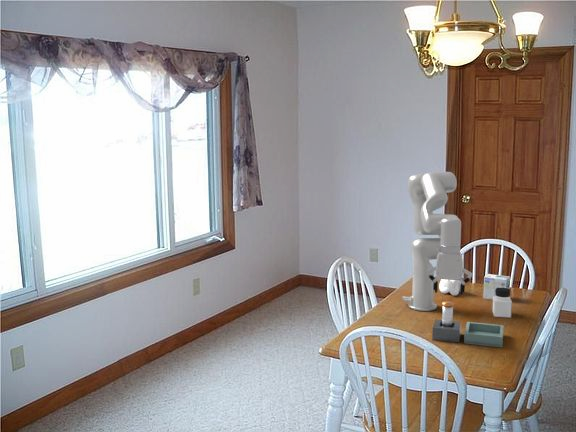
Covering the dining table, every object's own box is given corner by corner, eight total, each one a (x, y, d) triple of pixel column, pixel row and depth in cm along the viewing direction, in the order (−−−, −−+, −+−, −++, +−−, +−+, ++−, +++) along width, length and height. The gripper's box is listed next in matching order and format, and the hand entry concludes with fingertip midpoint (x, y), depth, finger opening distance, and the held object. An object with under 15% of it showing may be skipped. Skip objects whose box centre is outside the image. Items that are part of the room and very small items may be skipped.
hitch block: (432, 339, 256) (432, 327, 255) (435, 331, 265) (435, 319, 264) (458, 342, 253) (459, 330, 252) (460, 333, 262) (461, 321, 261)
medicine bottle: (511, 317, 281) (512, 290, 279) (493, 316, 282) (495, 289, 280) (509, 312, 288) (510, 286, 286) (492, 311, 289) (493, 285, 287)
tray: (464, 343, 252) (464, 333, 251) (466, 331, 265) (467, 321, 264) (502, 347, 247) (502, 337, 247) (503, 334, 261) (503, 325, 260)
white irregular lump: (459, 289, 323) (459, 271, 322) (468, 296, 312) (469, 278, 310) (436, 290, 322) (437, 272, 320) (446, 297, 310) (446, 279, 308)
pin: (440, 338, 257) (441, 303, 255) (441, 334, 262) (442, 300, 259) (452, 339, 256) (453, 304, 254) (453, 335, 260) (454, 301, 258)
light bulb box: (509, 298, 308) (510, 276, 306) (505, 302, 303) (506, 279, 301) (486, 294, 314) (487, 273, 312) (482, 298, 308) (483, 276, 307)
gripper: (426, 250, 252) (425, 293, 254) (472, 253, 246) (471, 297, 249) (428, 246, 259) (427, 288, 261) (474, 249, 253) (472, 292, 256)
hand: (448, 292), depth 255 cm, fingers open, 9 cm apart
